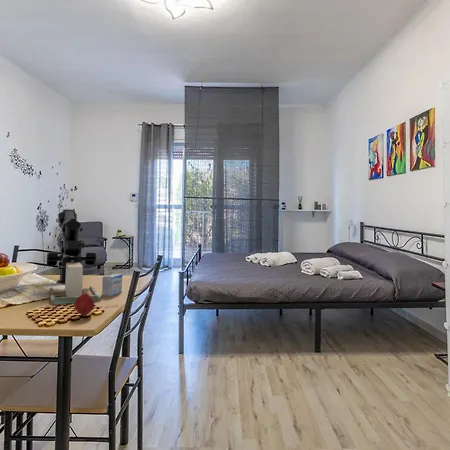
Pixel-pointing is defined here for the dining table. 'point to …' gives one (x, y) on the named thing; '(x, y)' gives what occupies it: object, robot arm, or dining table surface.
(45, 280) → the dining table surface
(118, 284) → the medicine box
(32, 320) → the dining table surface
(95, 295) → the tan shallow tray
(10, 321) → the dining table surface
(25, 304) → the dining table surface
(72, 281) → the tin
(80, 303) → the onion
